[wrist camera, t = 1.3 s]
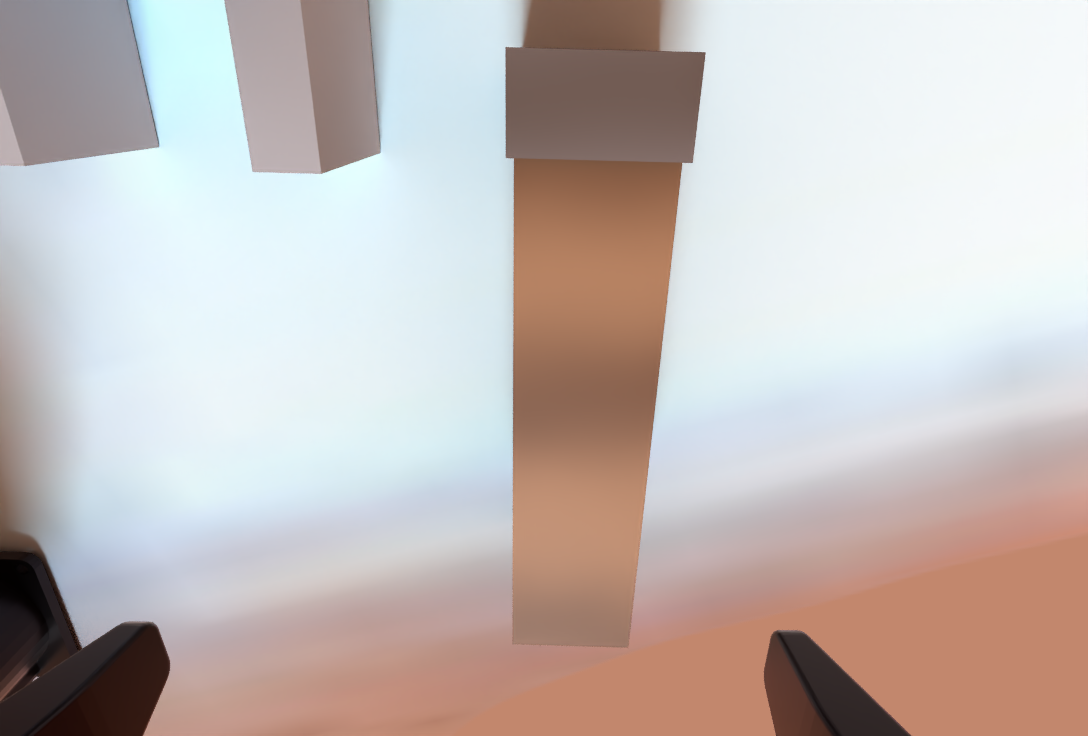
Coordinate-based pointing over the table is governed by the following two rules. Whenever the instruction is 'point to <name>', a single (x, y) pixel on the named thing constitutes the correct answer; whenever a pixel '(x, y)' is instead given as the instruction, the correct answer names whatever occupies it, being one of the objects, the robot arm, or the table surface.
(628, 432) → the rail
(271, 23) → the grey block with legs
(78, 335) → the table surface
